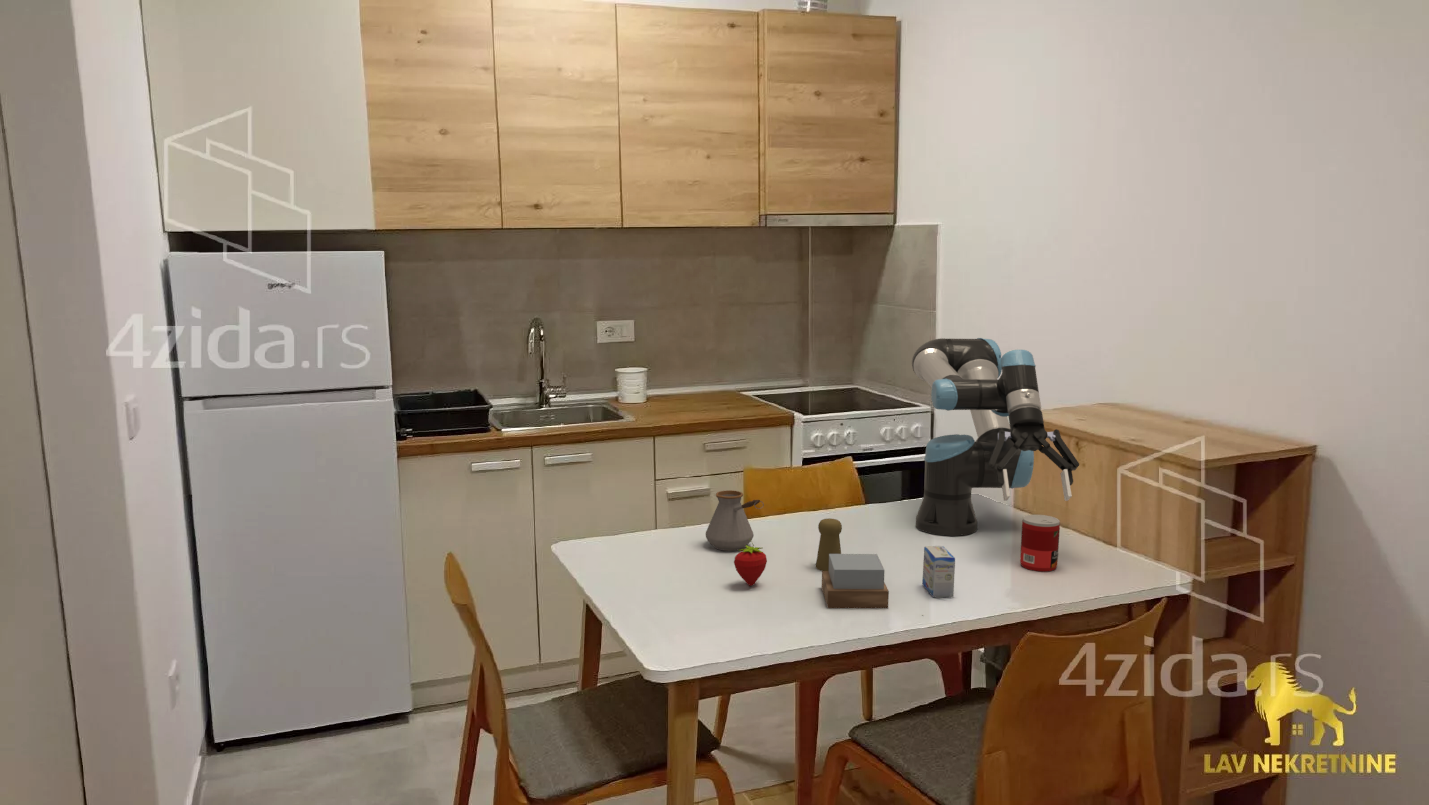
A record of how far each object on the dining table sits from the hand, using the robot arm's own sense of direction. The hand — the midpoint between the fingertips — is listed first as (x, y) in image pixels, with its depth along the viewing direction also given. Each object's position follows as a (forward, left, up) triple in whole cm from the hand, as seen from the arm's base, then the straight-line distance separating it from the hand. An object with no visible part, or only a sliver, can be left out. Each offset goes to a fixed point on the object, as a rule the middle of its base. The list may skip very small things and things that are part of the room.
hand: (1037, 498), depth 227 cm
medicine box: (+17, -25, -16) cm, 34 cm away
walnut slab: (+21, -43, -16) cm, 51 cm away
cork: (+2, -46, -16) cm, 49 cm away
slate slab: (+21, -43, -12) cm, 49 cm away
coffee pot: (-9, -66, -16) cm, 69 cm away
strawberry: (+14, -64, -16) cm, 68 cm away
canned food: (+1, +1, -16) cm, 16 cm away
